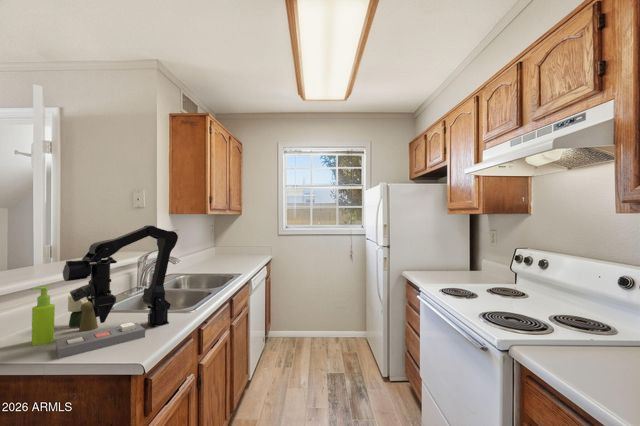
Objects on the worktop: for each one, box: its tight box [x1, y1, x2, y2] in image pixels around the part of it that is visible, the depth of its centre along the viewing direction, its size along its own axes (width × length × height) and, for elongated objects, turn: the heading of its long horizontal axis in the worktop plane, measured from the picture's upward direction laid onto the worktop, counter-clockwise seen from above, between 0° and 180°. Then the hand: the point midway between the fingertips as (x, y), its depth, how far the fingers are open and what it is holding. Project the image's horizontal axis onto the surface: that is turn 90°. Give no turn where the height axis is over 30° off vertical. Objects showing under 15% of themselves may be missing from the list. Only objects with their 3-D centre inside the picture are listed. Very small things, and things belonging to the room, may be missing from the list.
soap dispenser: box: [29, 286, 56, 346], centre depth 107 cm, size 6×7×20 cm
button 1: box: [67, 337, 84, 345], centre depth 100 cm, size 4×4×3 cm
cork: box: [78, 302, 99, 332], centre depth 119 cm, size 6×6×11 cm
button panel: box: [55, 322, 146, 360], centre depth 105 cm, size 24×10×4 cm, turn 136°
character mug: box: [67, 294, 90, 328], centre depth 124 cm, size 11×7×13 cm, turn 51°
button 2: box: [119, 322, 135, 332], centre depth 111 cm, size 4×4×3 cm
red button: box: [95, 332, 111, 338], centre depth 105 cm, size 4×4×3 cm
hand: (99, 319), depth 109 cm, fingers open, 9 cm apart
